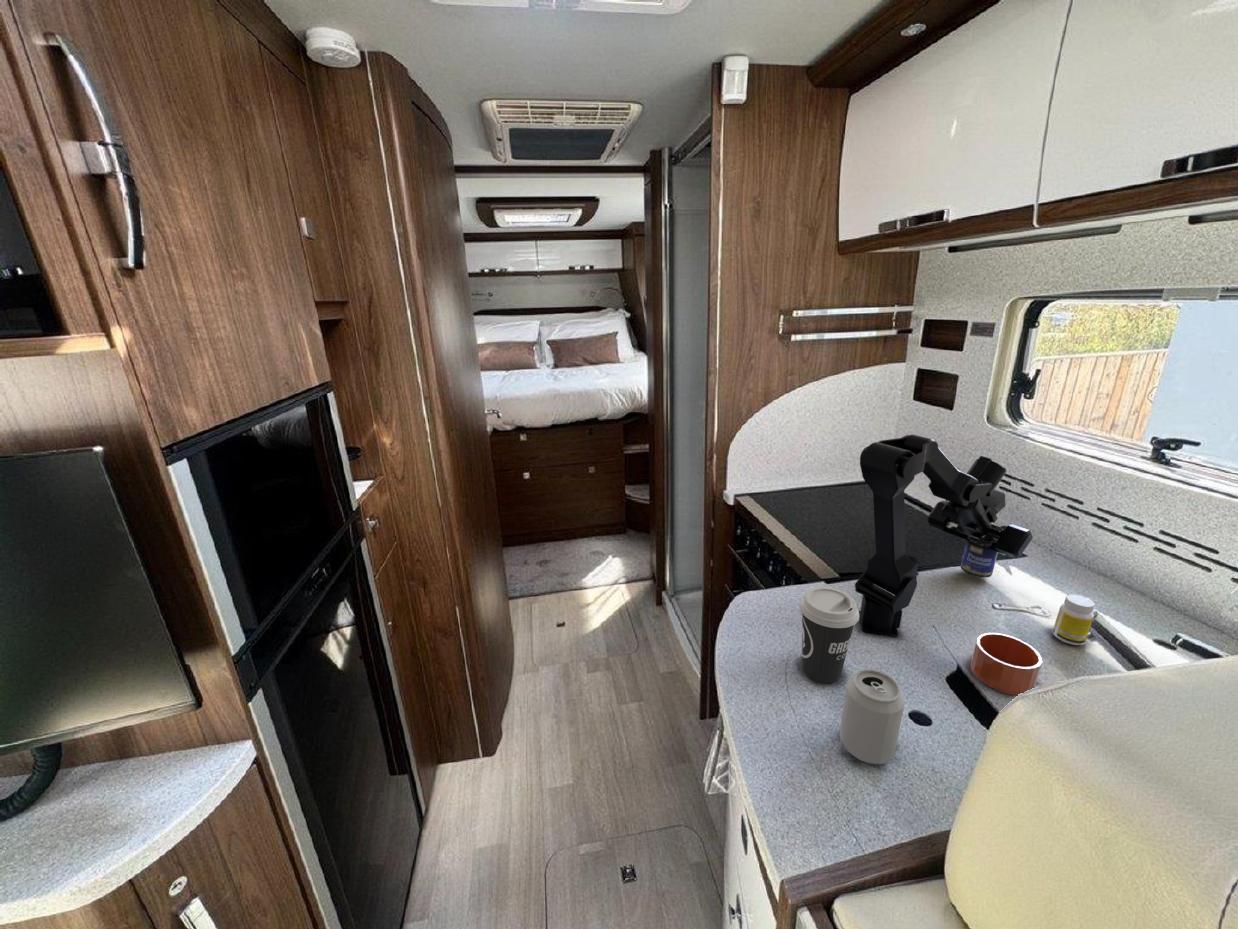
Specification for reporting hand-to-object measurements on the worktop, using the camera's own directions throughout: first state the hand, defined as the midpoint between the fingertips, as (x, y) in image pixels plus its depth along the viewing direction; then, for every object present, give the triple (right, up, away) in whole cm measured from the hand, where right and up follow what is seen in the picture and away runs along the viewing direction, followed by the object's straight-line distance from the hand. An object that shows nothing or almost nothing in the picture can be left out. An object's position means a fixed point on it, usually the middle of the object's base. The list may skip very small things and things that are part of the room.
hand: (985, 544), depth 114 cm
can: (-47, -24, -39) cm, 65 cm away
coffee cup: (-47, -19, -24) cm, 56 cm away
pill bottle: (-1, -7, +2) cm, 7 cm away
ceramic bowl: (-17, -19, -27) cm, 37 cm away
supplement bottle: (+2, -15, -18) cm, 24 cm away
